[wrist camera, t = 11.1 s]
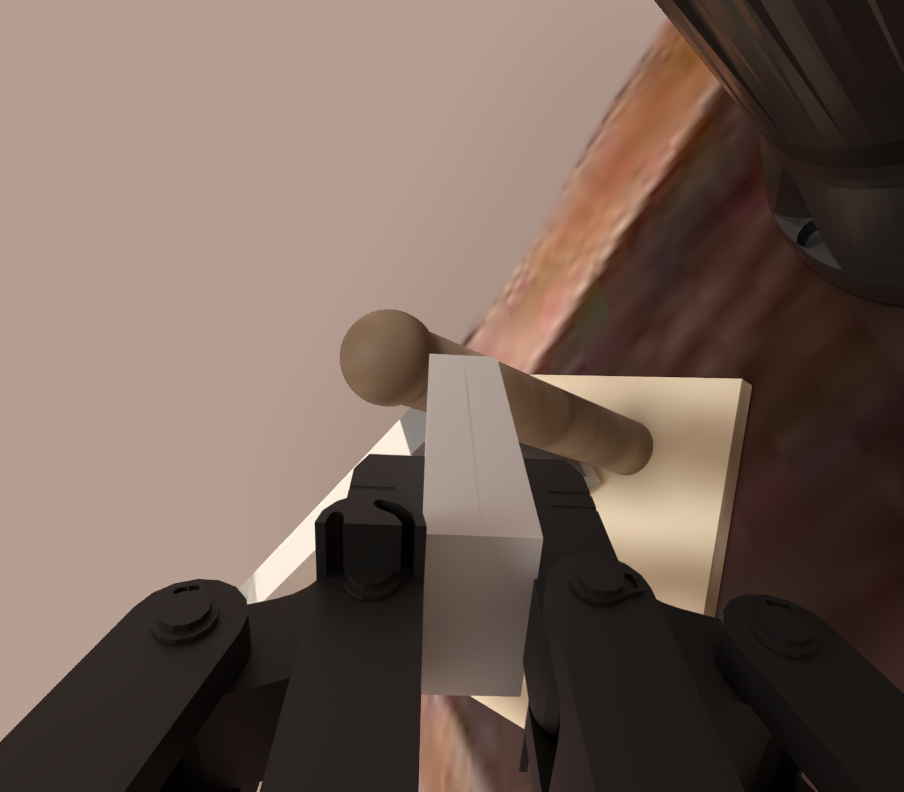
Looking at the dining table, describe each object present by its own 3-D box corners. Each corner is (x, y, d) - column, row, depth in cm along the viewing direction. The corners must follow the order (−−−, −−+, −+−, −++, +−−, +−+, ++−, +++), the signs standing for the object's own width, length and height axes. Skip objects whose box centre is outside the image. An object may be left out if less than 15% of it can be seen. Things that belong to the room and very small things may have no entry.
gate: (584, 452, 34) (421, 396, 27) (600, 481, 33) (433, 432, 25) (405, 599, 42) (238, 588, 34) (412, 627, 41) (241, 623, 33)
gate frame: (486, 378, 45) (234, 277, 32) (752, 385, 30) (479, 208, 18) (423, 658, 42) (122, 664, 30) (683, 813, 28) (305, 949, 15)
